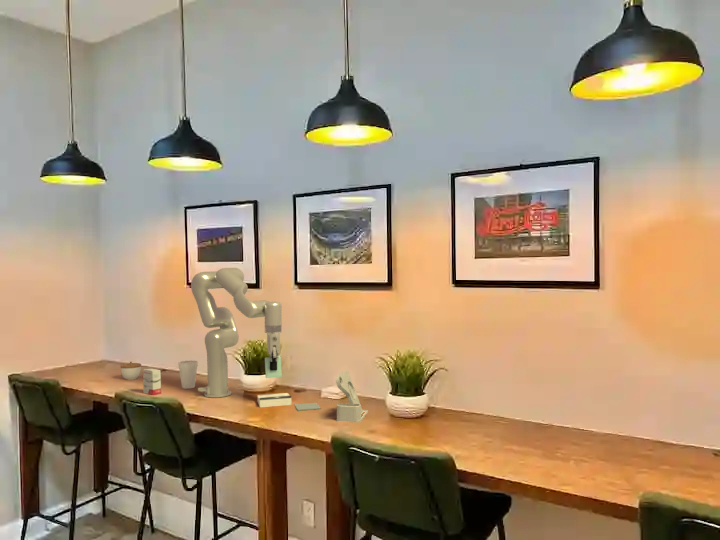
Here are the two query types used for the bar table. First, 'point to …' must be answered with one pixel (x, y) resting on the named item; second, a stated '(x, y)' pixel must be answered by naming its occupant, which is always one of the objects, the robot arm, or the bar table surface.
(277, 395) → the box
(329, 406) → the bar table surface
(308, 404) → the mat
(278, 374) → the ticket
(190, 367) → the foam cup
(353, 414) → the phone holder
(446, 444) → the bar table surface
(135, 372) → the lidded jar
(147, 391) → the ink box
